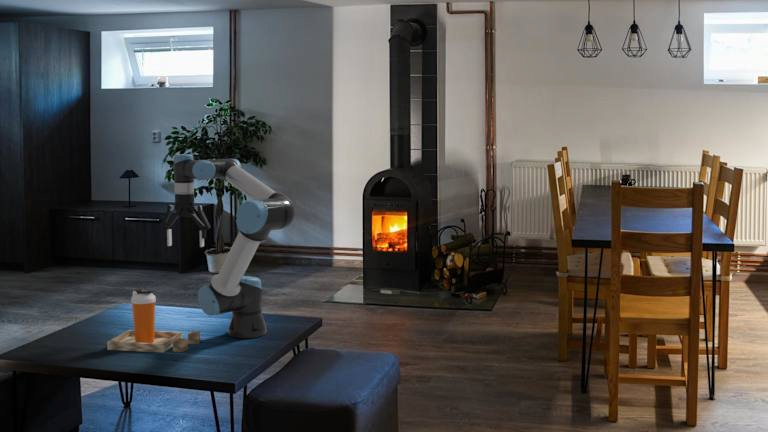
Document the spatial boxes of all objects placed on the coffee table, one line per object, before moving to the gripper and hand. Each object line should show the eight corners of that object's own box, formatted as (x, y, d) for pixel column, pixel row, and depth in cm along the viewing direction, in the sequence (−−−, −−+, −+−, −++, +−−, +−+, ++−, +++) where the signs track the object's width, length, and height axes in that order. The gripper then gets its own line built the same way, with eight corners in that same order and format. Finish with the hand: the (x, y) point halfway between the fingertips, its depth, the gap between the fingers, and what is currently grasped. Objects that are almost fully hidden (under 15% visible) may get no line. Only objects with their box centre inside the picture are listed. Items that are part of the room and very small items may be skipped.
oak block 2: (200, 341, 327) (200, 331, 326) (198, 344, 323) (198, 333, 322) (189, 341, 326) (189, 331, 326) (188, 344, 322) (188, 334, 322)
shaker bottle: (150, 345, 316) (149, 293, 314) (128, 344, 318) (126, 292, 315) (160, 339, 325) (159, 288, 322) (139, 338, 326) (137, 287, 324)
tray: (182, 339, 328) (182, 332, 328) (163, 352, 311) (163, 344, 310) (129, 337, 332) (128, 329, 331) (107, 349, 314) (107, 341, 314)
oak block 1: (188, 349, 315) (187, 339, 315) (182, 352, 311) (182, 341, 311) (178, 348, 316) (178, 338, 316) (172, 351, 313) (172, 340, 312)
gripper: (217, 192, 337) (219, 245, 339) (158, 191, 341) (160, 243, 343) (211, 194, 329) (212, 248, 332) (150, 193, 333) (152, 246, 336)
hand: (185, 246), depth 338 cm, fingers open, 13 cm apart
